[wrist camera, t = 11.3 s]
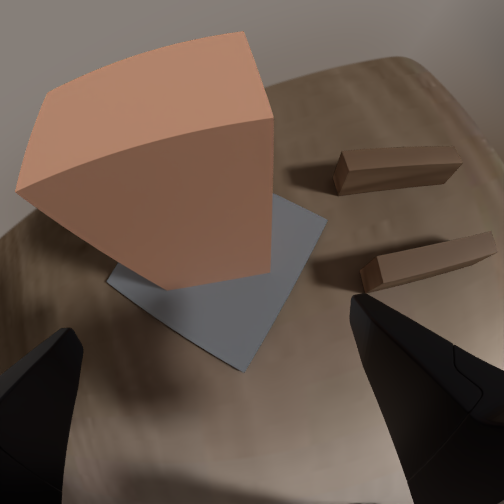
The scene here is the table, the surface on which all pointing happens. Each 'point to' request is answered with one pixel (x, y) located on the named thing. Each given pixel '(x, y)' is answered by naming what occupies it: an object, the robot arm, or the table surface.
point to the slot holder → (403, 176)
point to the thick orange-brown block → (162, 162)
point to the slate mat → (233, 292)
